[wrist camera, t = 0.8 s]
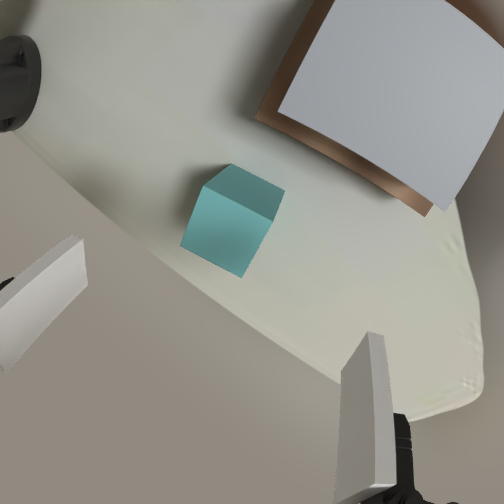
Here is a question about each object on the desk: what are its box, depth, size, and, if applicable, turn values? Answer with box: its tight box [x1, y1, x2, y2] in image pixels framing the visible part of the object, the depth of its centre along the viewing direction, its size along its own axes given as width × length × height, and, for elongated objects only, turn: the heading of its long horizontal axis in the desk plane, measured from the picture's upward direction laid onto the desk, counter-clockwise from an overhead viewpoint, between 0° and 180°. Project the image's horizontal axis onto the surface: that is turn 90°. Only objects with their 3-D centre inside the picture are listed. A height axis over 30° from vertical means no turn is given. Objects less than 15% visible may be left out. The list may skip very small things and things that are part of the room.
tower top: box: [278, 0, 504, 212], centre depth 16 cm, size 12×12×6 cm
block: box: [180, 164, 285, 278], centre depth 28 cm, size 6×6×8 cm
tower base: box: [254, 0, 433, 217], centre depth 21 cm, size 16×16×6 cm
